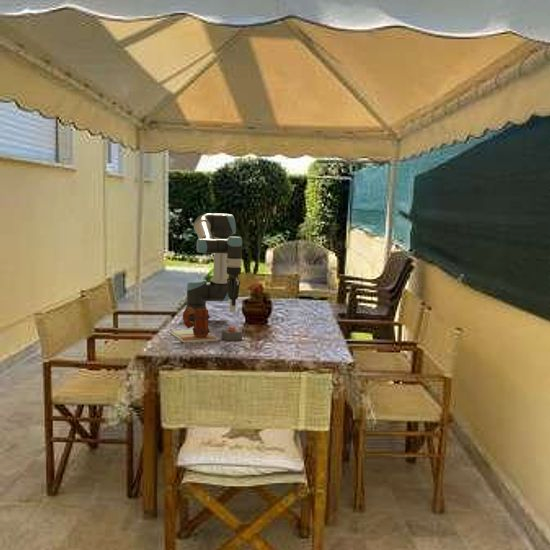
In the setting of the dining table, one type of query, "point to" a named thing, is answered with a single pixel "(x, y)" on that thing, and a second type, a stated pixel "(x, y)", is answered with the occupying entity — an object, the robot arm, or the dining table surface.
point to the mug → (197, 321)
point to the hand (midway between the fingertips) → (232, 311)
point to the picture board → (191, 336)
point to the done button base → (232, 335)
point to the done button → (231, 329)
